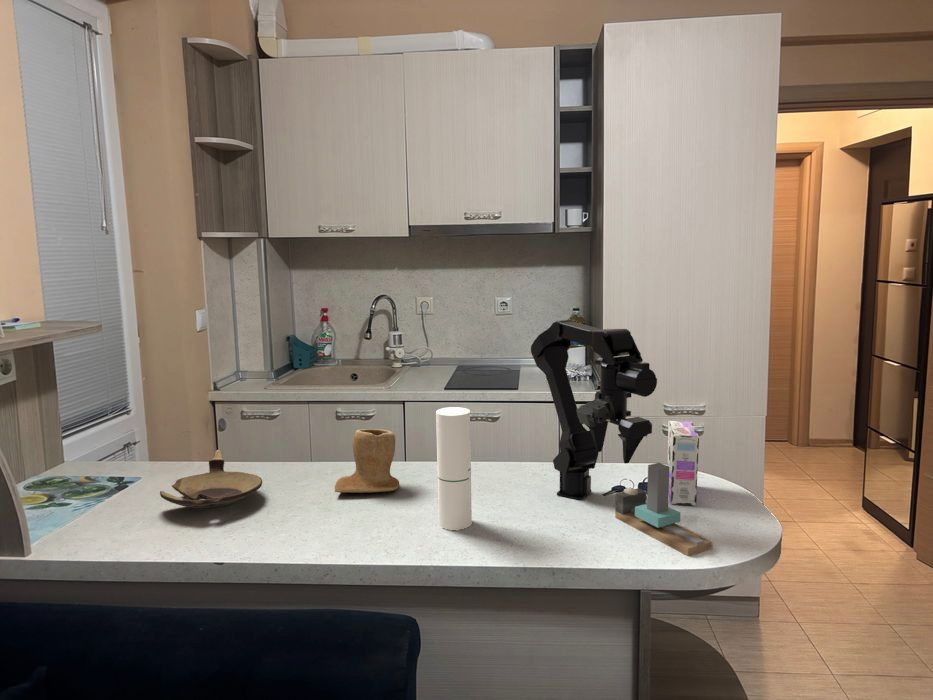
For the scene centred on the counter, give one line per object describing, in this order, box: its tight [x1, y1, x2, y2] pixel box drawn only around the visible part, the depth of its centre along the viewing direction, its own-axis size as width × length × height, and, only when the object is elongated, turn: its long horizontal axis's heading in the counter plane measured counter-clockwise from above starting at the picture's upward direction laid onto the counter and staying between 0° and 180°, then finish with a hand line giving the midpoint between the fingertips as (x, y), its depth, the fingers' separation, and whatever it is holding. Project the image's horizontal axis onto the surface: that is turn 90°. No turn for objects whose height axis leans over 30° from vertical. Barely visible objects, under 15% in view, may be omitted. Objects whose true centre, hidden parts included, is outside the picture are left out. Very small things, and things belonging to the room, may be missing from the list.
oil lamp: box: [159, 449, 263, 509], centre depth 170 cm, size 22×30×8 cm
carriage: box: [635, 462, 681, 528], centre depth 148 cm, size 7×6×12 cm
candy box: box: [666, 420, 700, 507], centre depth 167 cm, size 14×6×16 cm, turn 168°
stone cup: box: [334, 428, 400, 494], centre depth 174 cm, size 15×12×15 cm
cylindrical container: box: [435, 406, 473, 531], centre depth 152 cm, size 7×7×25 cm
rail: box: [614, 487, 713, 557], centre depth 147 cm, size 22×6×6 cm, turn 28°
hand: (612, 457), depth 156 cm, fingers open, 9 cm apart
